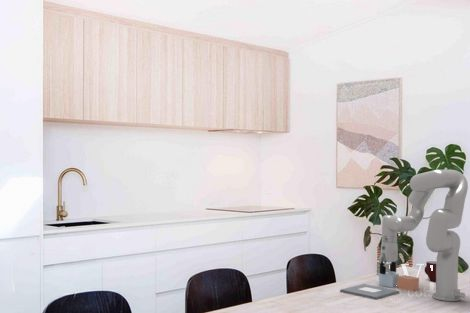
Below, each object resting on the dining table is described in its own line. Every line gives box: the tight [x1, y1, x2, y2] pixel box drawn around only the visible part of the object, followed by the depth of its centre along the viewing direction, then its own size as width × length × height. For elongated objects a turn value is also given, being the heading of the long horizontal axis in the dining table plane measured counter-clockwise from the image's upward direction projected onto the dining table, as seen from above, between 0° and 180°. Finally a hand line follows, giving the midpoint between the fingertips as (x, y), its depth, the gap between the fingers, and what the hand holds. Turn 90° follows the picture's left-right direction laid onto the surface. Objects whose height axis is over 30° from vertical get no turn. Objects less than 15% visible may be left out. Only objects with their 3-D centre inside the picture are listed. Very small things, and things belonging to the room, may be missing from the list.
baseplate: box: [339, 283, 400, 301], centre depth 284 cm, size 20×20×1 cm
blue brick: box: [378, 272, 400, 288], centre depth 301 cm, size 8×6×6 cm
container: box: [376, 260, 398, 276], centre depth 327 cm, size 8×8×13 cm
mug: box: [424, 260, 436, 283], centre depth 314 cm, size 10×8×10 cm
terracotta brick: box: [397, 274, 420, 292], centre depth 293 cm, size 8×6×6 cm
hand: (387, 272), depth 302 cm, fingers open, 9 cm apart
